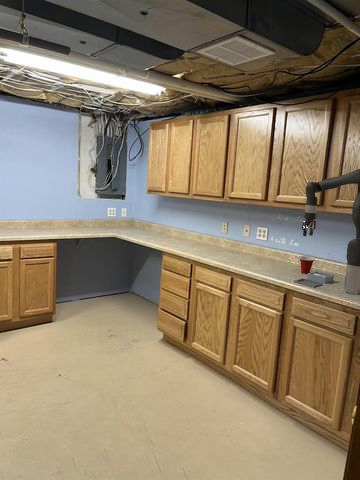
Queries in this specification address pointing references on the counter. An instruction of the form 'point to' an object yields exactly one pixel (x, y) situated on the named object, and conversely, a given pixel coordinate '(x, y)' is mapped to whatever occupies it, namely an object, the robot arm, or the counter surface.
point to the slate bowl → (320, 277)
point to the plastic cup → (306, 264)
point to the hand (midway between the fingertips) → (307, 235)
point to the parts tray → (308, 282)
